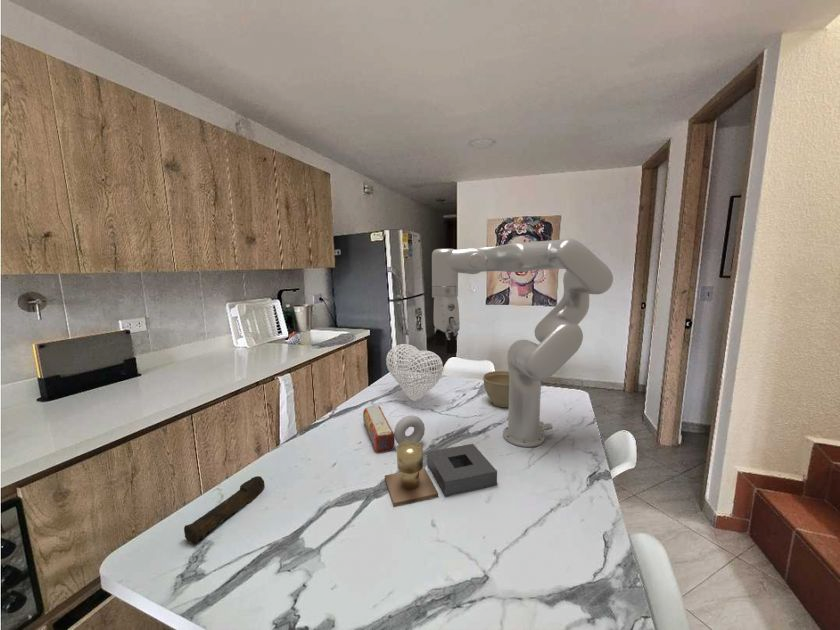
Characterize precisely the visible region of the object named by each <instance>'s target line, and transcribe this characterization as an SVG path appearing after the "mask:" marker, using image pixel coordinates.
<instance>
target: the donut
mask: <svg viewBox="0 0 840 630" xmlns="http://www.w3.org/2000/svg"><path fill="white" fill-rule="evenodd" d="M411 427H412V428H413V431H412V433H411V434H410V435H406V431H407V430H408V429H410V428H411ZM425 430H426V428H425V423H424V422H423V419H421V418H420V417H419V416H417V415H407V416H405V417H402V418H401V419H400V420H398V422H397V423H396V425H395V428H394V431H393V433H394V439H395V442H396V444H397V445H398V444H399V443H401V442H404V441H417V442H419V443H421V440H422V439H423V437H424V435H425Z"/></svg>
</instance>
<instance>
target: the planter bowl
mask: <svg viewBox="0 0 840 630" xmlns="http://www.w3.org/2000/svg"><path fill="white" fill-rule="evenodd" d="M482 378H483V386H484V390H485V393H486V394H487V396H488V397H489V399H490V400H491V404H493V406H496V407H500V408H509V370H494V371H488V372H486V373H485V374H484V375H483V377H482Z"/></svg>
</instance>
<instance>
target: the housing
mask: <svg viewBox="0 0 840 630" xmlns="http://www.w3.org/2000/svg"><path fill="white" fill-rule="evenodd" d="M426 465H427V468H428V470H429V471H430V473H431V474H432V476H433V479H434V480H435V483H436V484H437V486H438V487H439V489H440V490H441V493H442V496H444V498H447V497H452V496H457V495H460V494H465V493H466V494H467V493H469V492H475V491H479V490H482V489H483V490H484V489H488V488H493V487H497V486H498V470H497V469H496V468H495V467H494V465H492V463H490V461H489V460H488V459H487V458H486V456H485V455H484V454H483V452H481V451H480V450H479V448H477V446H476V445H475V444H474V443H468V444H463V445H458V446H452V447H446V448H441V449H435V450H428V451H426Z"/></svg>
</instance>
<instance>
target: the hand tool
mask: <svg viewBox="0 0 840 630" xmlns="http://www.w3.org/2000/svg"><path fill="white" fill-rule="evenodd" d="M265 485H266V484H265V480H264V479H263V478H262V476H259V475H258V476H254V477H252V478H250V479H249V480H247V481H245V482H244V483H242V484H241V485H240V486H239V489H238V490H237V491H236V492H234V494H232V495H231V496H229V497H227V498H226V499H225V500H223V501H222V502H220V503H219V504H217V506H215V507H214V508H211V510H209V511H207V512H206V513H205V514H204V515H202V516H201V517H199V518H197V519H196V520H195V521H193V522H192V523H189V524H186V525H184V528H183V532H184V533H183V534H184V538H185V539H186V541H187V542H189V543H191V544H192V545H197V544H198V543H199V540H201V539H204V538H205V536H206V534H208V533H209V532H210V531H212V530H213V529H215V527H217V526H218V525H219V524H221V523H222V522H224V520H226V519H228V518H229V517H230V516H232V514H234V513H236V512H237V511H238V510H239V509H241V507H243V506H245V505H248V504H251V503H252V502H253V501H255V499H257V498H258V496H259V495H260V494H261V493H263V490H265V488H266V487H265Z"/></svg>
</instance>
